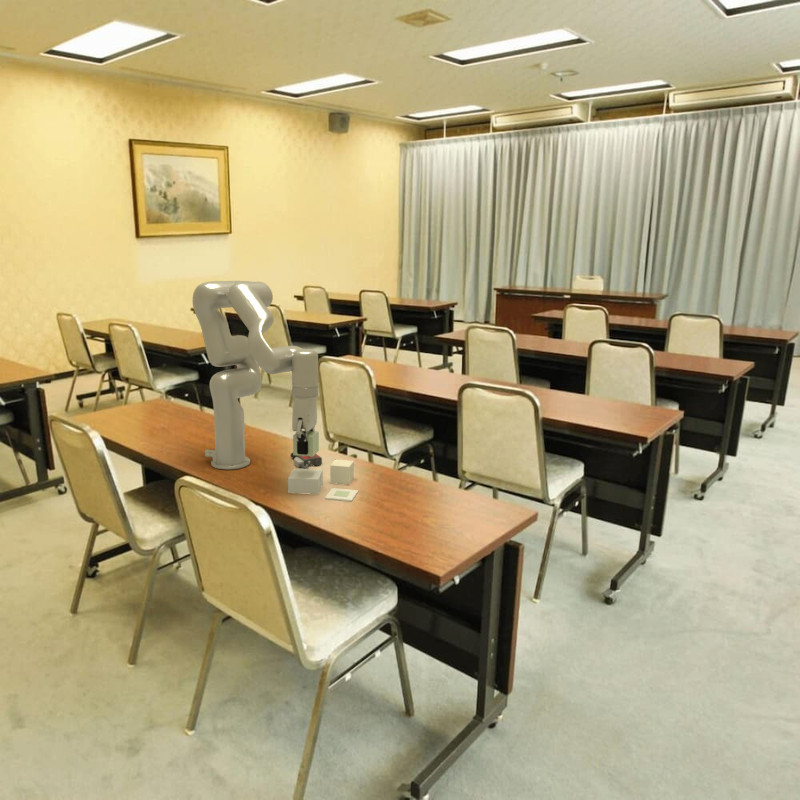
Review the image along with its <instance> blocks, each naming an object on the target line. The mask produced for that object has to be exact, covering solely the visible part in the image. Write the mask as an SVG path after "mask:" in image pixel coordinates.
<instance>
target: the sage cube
mask: <svg viewBox="0 0 800 800" xmlns="http://www.w3.org/2000/svg"><path fill="white" fill-rule="evenodd" d="M302 431H304V429H302ZM319 432H320V431H316V430H315V431H308V434H307V441H308V454H307V455H304V454H297V437H296V436H297V435H296V433H294V434H293V435H292V446H293V447H292V449H293V450H292V453H293V455H298V456H312V457H313V456H314V455H315V454H317V453H318V452H319V451H320V447H319V446H320V443H319V442H320V441H319V440H320V439H319V437H320V436H319V435H320V434H319ZM302 434H303V435H305V433H302Z"/></svg>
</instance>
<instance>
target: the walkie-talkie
mask: <svg viewBox="0 0 800 800" xmlns="http://www.w3.org/2000/svg"><path fill="white" fill-rule="evenodd" d="M290 457H291V458H292V459H293V458H294V459H293V465H294V464H295V465H294V466H296V467H297V468H298V467H301V468H300V469H309V467H308V466H310V467H314V466H313V465H317V466H316V467H318V466H321V464H323V459H322V457H321V456H320V455H318V454H317V453H316V454H315V455H314V456H313V457H312V456H298V455H293V452H292V453H290Z"/></svg>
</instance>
